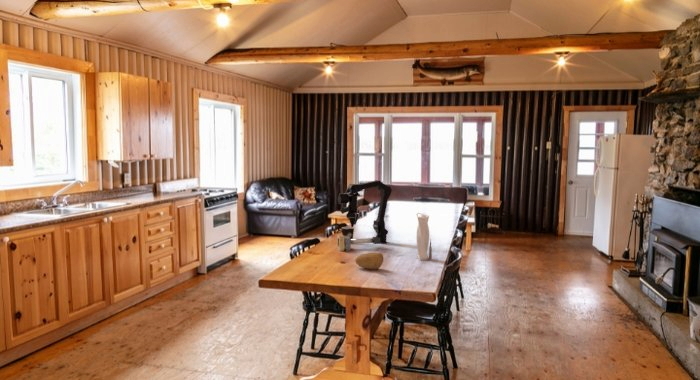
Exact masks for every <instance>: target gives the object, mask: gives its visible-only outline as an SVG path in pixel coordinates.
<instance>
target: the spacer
mask: <svg viewBox="0 0 700 380" xmlns="http://www.w3.org/2000/svg"><path fill="white" fill-rule="evenodd" d="M336 239H337V240H336V246H337V247H336V249H337V250H338V252H344V251H345V249H344V236H343V235H342V233H338V234H337V233H336Z"/></svg>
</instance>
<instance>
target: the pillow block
mask: <svg viewBox="0 0 700 380" xmlns="http://www.w3.org/2000/svg"><path fill="white" fill-rule="evenodd" d="M351 245H352V244H351V238H350V237H348V236H344V251H346V252H350V251H351V250H352V249H351V248H352V247H351Z"/></svg>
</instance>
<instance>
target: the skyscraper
mask: <svg viewBox="0 0 700 380" xmlns="http://www.w3.org/2000/svg"><path fill="white" fill-rule="evenodd" d="M419 215H420V216H419ZM416 218H417V222H418V224H417V229H416V246H417V252H418V253H417V255H416V259H417V260H419V261H421V262H425V261H426V262H427V261H433V259H432V258H433V257H432V256H433V254H432V252H433V251H432V247H433V246H432V239H430V229H429V228H430V227H429V224H428V222H429V218H430V215H427V214H424V213H420V212H417V213H416ZM428 249H429V250H428ZM427 253H428V254H427Z"/></svg>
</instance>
